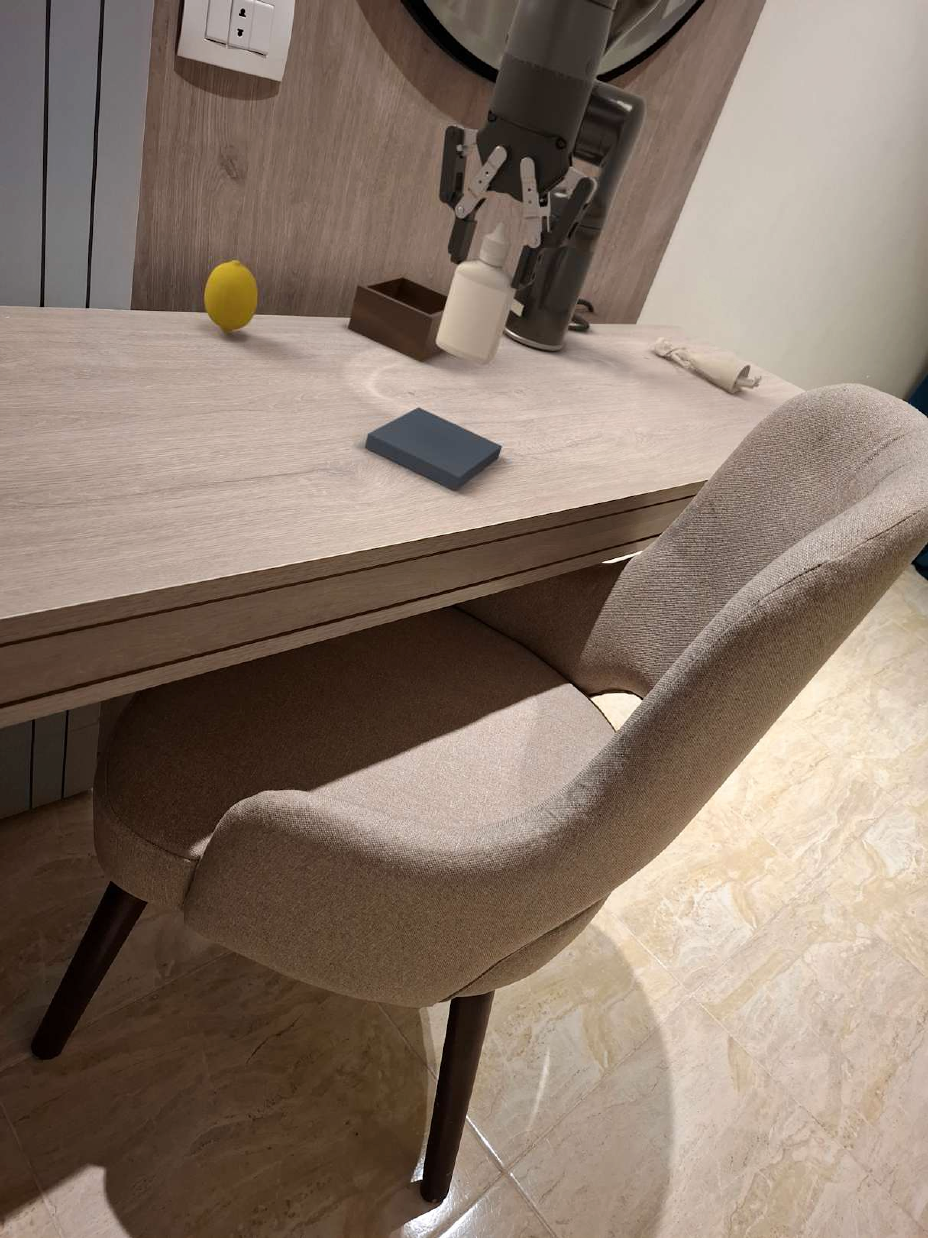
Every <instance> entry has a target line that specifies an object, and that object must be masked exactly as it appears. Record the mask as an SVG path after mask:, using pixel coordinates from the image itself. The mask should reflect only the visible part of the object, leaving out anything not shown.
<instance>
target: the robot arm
mask: <svg viewBox="0 0 928 1238" xmlns="http://www.w3.org/2000/svg"><path fill="white" fill-rule="evenodd" d="M661 1H662V0H519V1H518V3H517V6H516V9H515V12H514V15H513V17H512V22H511V25H510V29H508V31H507V34H506V38H505V47H504V51H503V55H502V58H501V62H500V66H499V69H498V73H497V76H496V80H495V84H494V88H493V91H492V96H491V99H490V102H489V106H488V111H487V112H488V113H487V117H486V119H485V121H484V122H483V124H481V126H480V127H479V128H478V129H472V128H469V127H467V126H464V125H458V124H455V125H448V126H447V127H446V129H445V131H444V140H443V149H442V161H441V171H440V182H439V192H438V198H439V201H440V202H441V203H443V204H446V205H447V206H449V207H450V208H451V210H453V212H454V222H453V226H452V228H451V229H452V230H451V234H450V237H449V240H448V244H447V254H448V255H450V258H449V259H450V261H449V262H451V263H453V264H454V265H457V266H458V265H459V264H460V263H461V262H463V261H466V260H468V256H469V253H470V249H471V245H472V242H473V238H474V236H475V232H476V229H477V226H478V225H477V224H478V220H476V216H477V215H478V214H479V212H480V211H481V209H482V208H483V207H484V206H485V204H486V203H487V202H488V200H489V199H491V198H492V197H493V196H494V195H495V194H496V193H497V194H506V195H509V196H510V197H511V198H512V199H514V200H515V201H517V202H520V203H522V205H523V206H522V207H523V217H524V220H525V222H526V223H525V224H526V225H525V227H526V243H527V244H523V246H522V249H521V251H520V255H519V258H518V262H517V265H516V268H515V271H514V275H513V276H512V277H513V281H512V284H511V287H512V288H514V289H516V292H515V295H514V298H513V302H512V305H511V308H510V311H509V314H508V318H507V321H506V324H505V327H504V330H503V333H504V334H505V335H506V336H508V337H509V338H511V339H513V340H514V341H516V342H519V343H521V344H523V345H526V346H529V347H532V348H534V349H538V350H541V351H542V350H543V351H550V352H551V351H552V352H554V351H555V352H557V351H560V350H562V349H563V345H564V343H565V338H566V335H567V334H568V333H567V332H568V331H570V332H585V331H587V330H589V329H590V326H591V325H590V323H589V321H587V319H584V318H583V317H582V316H580V315H578V314H576V313H575V312H576V308H577V306H578V305H579V306H584V307H586V308H587V309H588V312H590V313H594V312H595V309H594V306H593V304H592V303H591V302H590V301H589V300H587V299H583V298H580V296H581V294H582V291H583V289H584V285H585V282H586V281H587V277H588V275H589V272H590V269H591V267H592V264H593V261H594V258H595V255H596V253H597V249H598V246H599V244H600V241H601V238H602V236H603V233H604V230H605V227H606V224H607V221H608V218H609V215H610V212H611V211H612V207H613V204H614V201H615V198H616V196H617V193H618V190H619V188H620V185H621V182H622V180H623V177H624V175H625V172H626V170H627V168H628V165H629V163H630V161H631V158H632V156H633V153H634V151H635V148H636V146H637V144H638V142H639V139H640V136H641V133H642V130H643V128H644V125H645V121H646V117H647V103H646V101H645V99H644V98H643V97H642V96H640V95H639V94H636V93H633V92H632V91H631V92H630V91H628V90H625V89H623V88H620V87H617V86H615V85H612V84H609V83H606V82H604V81H600V80H598V79H597V75H598V72H599V68H600V65H601V64H602V62H603V60H604V59H605V58H606V57H607V56H608V55H609V53H611V51H612V50H613V49H614V47H615V46H616V45H617V44H618V43H619V42H620V41H621V40H622V39H623V38H624V37H626V35H627V34H628V33H630V31H632V30H634V28H635V27H636V26H638V25H639V24H640V23H641V22H642V21H644V19H645V18H646V17H648V15H649V14H650V13H651V12H653V10H654V9H655V8H656V7H657V6H658V4H659V3H660V2H661ZM475 146H476V147H477V152H478V156H479V159H480V163H481V169H480V170H479V172H478V173H477V174H476V175H475V177H474V178H473V180H472V181H471V183H470V184H469V185H468V187H467V190H466V192H465V193H464V188H465V179H466V171H467V170H466V168H467V161H468V156H471V155H472V153H473V151H474V148H475ZM573 159H575V160H577V161H580V162H583V163H586V164H588V165H591V166H593V167H596V168H598V169H599V170H598V172H597V174H596V175H595V176H588V175H586V174H585V173H583V172H582V171H580V170H579V169H577V168H576V167H574V162H573V161H574V160H573ZM564 180H566V183H562V182H564ZM572 320H574V321H575V322H577V323H579V324H581V325H573V324H572V325H571V322H572Z"/></svg>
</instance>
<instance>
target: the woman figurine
mask: <svg viewBox="0 0 928 1238" xmlns="http://www.w3.org/2000/svg"><path fill="white" fill-rule="evenodd" d="M672 346H673V344H672V342H671V341H670V340H665V337H661V336H660V337H659V338H657V340H656V341H655V342H654V344H653V351H654V352H655V354H657V355H658V356H661V357H664V356H665V357H666V356H667V355H668V356H669V358H670V359H671V360H673V361H676V363H678V364H679V365H681V366H682V368H683V369H684V370H685V371H688V369H689V366H690V365H691V367H692V368H693V370H695V372H698V373H699V374H700V375H702V376H703V377H705V378H706V379H707V380H709V381H710V382H712V383H714V384H715V385H717V386H718V387H720V388H722V389H723V390H725V391H726V392H728V393H730V394H734V393H736V392H739V391H740V390H741V389H742V388H746V389H750V390H753V389H754V388H758V387H759V386H760V382H761V381H762V376H761V375H759V377H758V378H757V376H755V377H754V379H750V378H748V377H749V374H750V371H751V365H750V364H746V363H743V362H739V361H734V360H729V359H726V358H720V357H716V356H711V355H706V354H705V355H704V354H700V353H693V352H692V351H691V350H690V349H691V347H690V346H688V345H680V346H676V347H673V348H672ZM684 362H689V363H684Z"/></svg>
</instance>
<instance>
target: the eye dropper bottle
mask: <svg viewBox="0 0 928 1238" xmlns="http://www.w3.org/2000/svg"><path fill="white" fill-rule="evenodd" d="M507 228H508V223H507V222H505V221H502V220H499V221H498V223H497V225H496V227H495V229H494V231H493V232H491V233H485V234H484V237H483V239H482V242H481V243H482V244H481V247H480V251H479V254H478V258H479V259H473V258H472V259H467V260H466V261H463V262H461V263H460V264H459V265H457V266H456V268H455V271H454V273H453V278H452V281H451V285H450V288H449V292H448V294H447V295H448V298H447V302H446V305H445V309H444V313H443V316H442V320H441V323H440V327H439V331H438V334H437V338H436V344H437V345H438V346H439V347H440V348H441V349H443V350H444V352H446V353H448V354H450V355H452V356H454V357H456V358H459V359H461V360H464V361H467V362H470V363H473V364H477V365H481V366H487V365H489V364H490V363H492V362H493V361H494V360H495V358H496V355H497V353H498V349H499V346H500V342H501V339H502V336H503V333H504V332H503V330H504V327H505V324H506V321H507V318H508V314H509V311H510V308H511V305H512V302H513V298H514V295H515V292H516V289H514V288H512V287H511V284H512V281H513V277H514V276H512V274H510V273H509V271H507V270H506V269H504V267H505V266H506V263H507V259H508V256H509V253H510V249H511V246H512V242H511V241H510V240H509V239H508V237H507Z"/></svg>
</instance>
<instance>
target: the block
mask: <svg viewBox="0 0 928 1238" xmlns="http://www.w3.org/2000/svg"><path fill="white" fill-rule="evenodd" d="M364 448H365V449H367V450H369V451H371V452H373V453H375V454H377V455H379V456H381V457H383V458H386V459H388V460H390V461H392V462H394V463H396V464H398V465H400V466H402V467H404V468H406V469H409V470H410V471H412V472H415V473H416V474H419V475H421V476H422V477H425V478H427V479H429V480H431V481H433V482H435V483H438V484H439V485H442V486H444V487H446V488H448V489H450V490H452V491H453V492H456V491H457V490H458V489H459V488H460V489H461V487H463V486H464V485H465V484H466V483H469V481H470V480H472V479H473V478H475V477H476V476H477V475H478V474H480V473H481V472H483V470H485V469H486V468H488V467H489V466H490V465H492V464H493V463H495V462H496V461H497V460H498V459H499V457H500V454H501V451H502V448H503V446H502V445H501V444H498V443H497V442H495V441H492V440H490V439H488V438H485V437H484V436H482V435H479V434H477V433H475V432H473V431H471V430H469V429H467V428H464V427H462V426H460V425H458V424H456V423H453V422H451V421H449V420H447V419H446V418H443V417H441V416H439V415H436V414H434V413H432V412H430V411H428V410H426V409H423V408H421V407H420V406H419V407H416V408H414V409H412V410H410V411H409V412H407V413H405V414H403V415H401V416H399V417H397V418H395V419H394V420H391V421H389V422H387V423H385V424H383V425H382V426H380V427H378V428H376V429H374V430H372V431H371V432H368V433H367V436H366V441H365V444H364Z"/></svg>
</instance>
